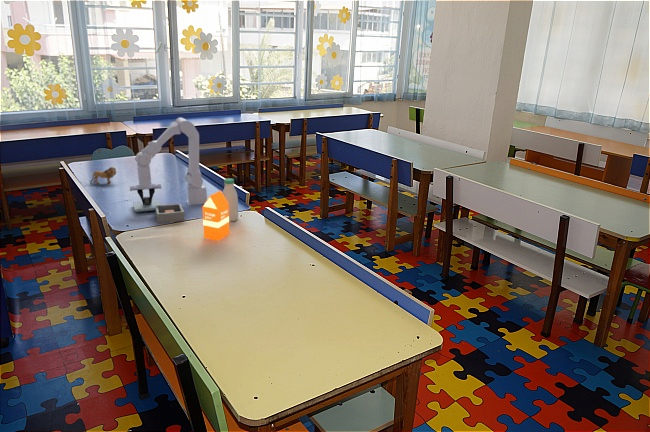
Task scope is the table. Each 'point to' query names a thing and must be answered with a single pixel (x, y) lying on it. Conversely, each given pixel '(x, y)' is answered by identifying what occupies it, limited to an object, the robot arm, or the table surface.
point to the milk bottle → (231, 199)
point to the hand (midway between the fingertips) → (147, 203)
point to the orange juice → (216, 217)
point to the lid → (145, 205)
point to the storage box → (169, 213)
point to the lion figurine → (104, 174)
